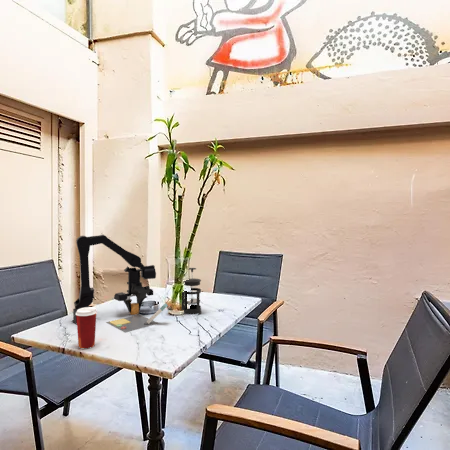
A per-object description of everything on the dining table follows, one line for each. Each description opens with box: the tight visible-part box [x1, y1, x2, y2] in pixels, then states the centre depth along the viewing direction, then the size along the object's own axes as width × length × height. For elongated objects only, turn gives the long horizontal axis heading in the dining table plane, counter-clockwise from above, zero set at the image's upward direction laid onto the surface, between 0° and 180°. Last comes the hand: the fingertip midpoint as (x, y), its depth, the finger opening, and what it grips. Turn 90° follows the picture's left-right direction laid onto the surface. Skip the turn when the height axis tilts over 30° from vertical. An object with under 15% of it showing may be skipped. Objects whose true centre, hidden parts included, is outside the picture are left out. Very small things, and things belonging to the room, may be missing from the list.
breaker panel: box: [105, 314, 160, 333], centre depth 154 cm, size 17×18×1 cm
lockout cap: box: [129, 302, 140, 316], centre depth 168 cm, size 4×4×5 cm
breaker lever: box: [146, 303, 169, 324], centre depth 153 cm, size 2×3×11 cm
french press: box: [181, 267, 202, 316], centre depth 171 cm, size 12×9×23 cm
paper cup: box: [75, 306, 98, 349], centre depth 129 cm, size 8×8×14 cm
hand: (134, 311), depth 168 cm, fingers closed on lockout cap, 4 cm apart
